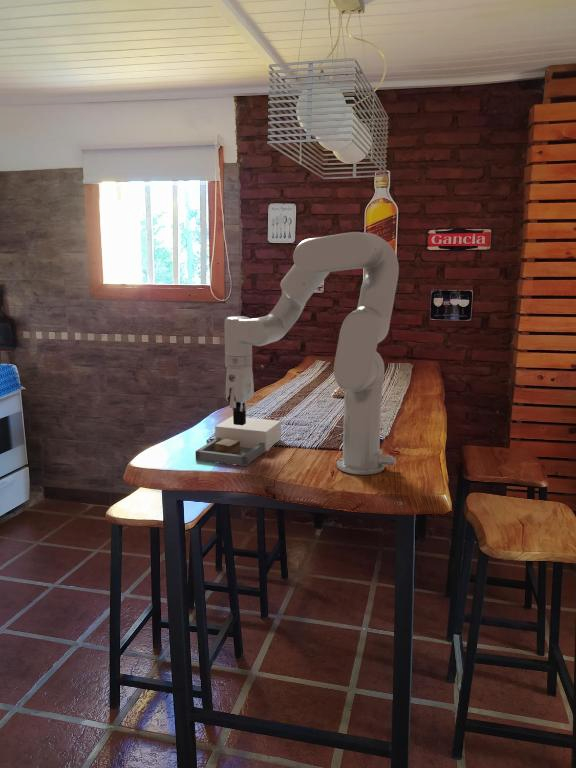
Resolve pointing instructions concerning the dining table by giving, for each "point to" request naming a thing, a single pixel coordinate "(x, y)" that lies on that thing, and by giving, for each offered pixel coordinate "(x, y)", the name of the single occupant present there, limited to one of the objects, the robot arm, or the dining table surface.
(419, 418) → the dining table surface
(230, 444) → the walnut tile
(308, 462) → the dining table surface
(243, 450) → the box
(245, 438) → the raised plate
